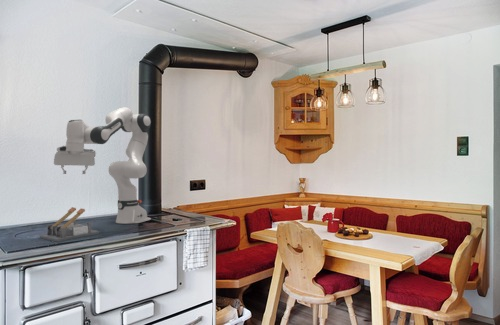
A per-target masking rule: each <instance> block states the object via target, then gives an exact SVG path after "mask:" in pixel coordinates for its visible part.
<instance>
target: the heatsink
mask: <svg viewBox="0 0 500 325" xmlns="http://www.w3.org/2000/svg"><path fill="white" fill-rule="evenodd" d="M63 225H64V224H59V225H58V227H59V226H60V227H62V226H63ZM85 233H88V226H87V225H83V224H79V223H77V224H75V225H74V223H73V222H72V223H71V224H70V225H69V226H68V227H67V228H66V234H68V235H73V236H75V235H80V234H85Z"/></svg>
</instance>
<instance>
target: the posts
mask: <svg viewBox="0 0 500 325" xmlns="http://www.w3.org/2000/svg"><path fill="white" fill-rule="evenodd" d="M72 223H74V225H75V224H78V221H77V219H75V220H74V221H73V222H72ZM86 223H87V225H86V226H88V233H90V232H91V230H92V222H86ZM51 226H52V230H50V229H49V227H51ZM59 228H61V227H60V226H59V225H58V226H53V225H52V224H47V225H46V234H47V235H50V234H52V236H55V235H56V237H58V236H61V238H64V237H66V227H64V228H61V232H60V231H58V229H59Z"/></svg>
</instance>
